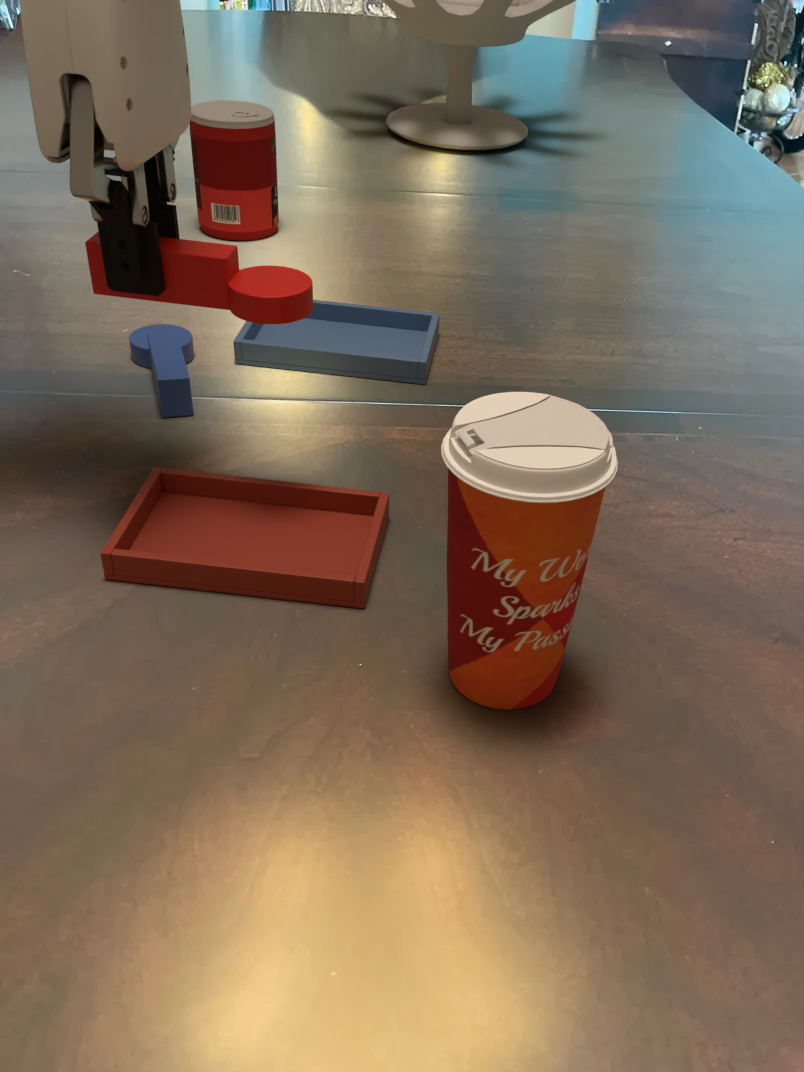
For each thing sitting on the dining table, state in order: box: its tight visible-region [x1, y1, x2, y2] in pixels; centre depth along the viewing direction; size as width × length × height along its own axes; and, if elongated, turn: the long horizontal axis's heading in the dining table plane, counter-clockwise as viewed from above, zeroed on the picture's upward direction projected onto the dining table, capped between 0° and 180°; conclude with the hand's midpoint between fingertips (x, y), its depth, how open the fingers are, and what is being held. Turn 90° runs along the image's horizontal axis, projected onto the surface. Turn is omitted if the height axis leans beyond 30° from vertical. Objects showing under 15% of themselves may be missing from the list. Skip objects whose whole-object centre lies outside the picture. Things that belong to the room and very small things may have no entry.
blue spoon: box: [128, 323, 195, 418], centre depth 80 cm, size 13×5×3 cm, turn 19°
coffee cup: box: [440, 391, 619, 710], centre depth 53 cm, size 8×8×15 cm
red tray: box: [99, 466, 391, 609], centre depth 64 cm, size 15×10×2 cm, turn 85°
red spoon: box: [84, 230, 314, 324], centre depth 60 cm, size 13×5×3 cm, turn 83°
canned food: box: [189, 99, 280, 241], centre depth 103 cm, size 8×8×11 cm
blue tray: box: [232, 299, 441, 385], centre depth 86 cm, size 15×10×2 cm, turn 85°
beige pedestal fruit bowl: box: [380, 0, 577, 151], centre depth 130 cm, size 34×35×27 cm
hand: (146, 279), depth 61 cm, fingers closed on red spoon, 2 cm apart
